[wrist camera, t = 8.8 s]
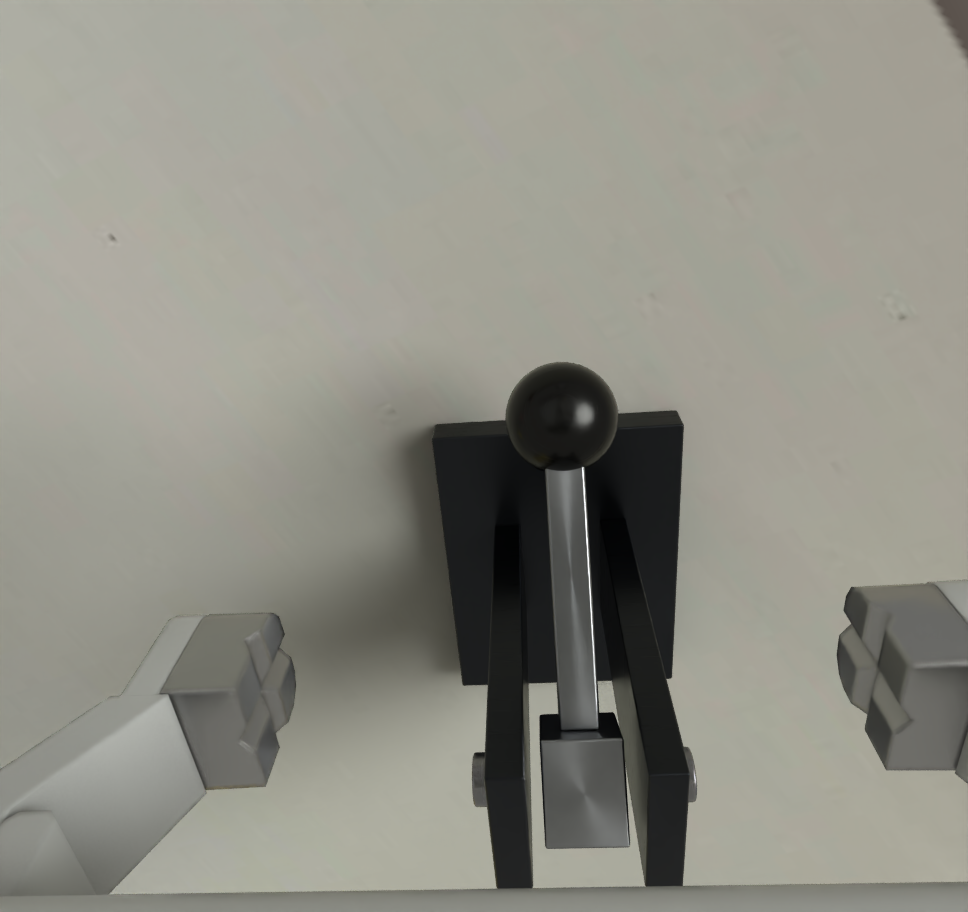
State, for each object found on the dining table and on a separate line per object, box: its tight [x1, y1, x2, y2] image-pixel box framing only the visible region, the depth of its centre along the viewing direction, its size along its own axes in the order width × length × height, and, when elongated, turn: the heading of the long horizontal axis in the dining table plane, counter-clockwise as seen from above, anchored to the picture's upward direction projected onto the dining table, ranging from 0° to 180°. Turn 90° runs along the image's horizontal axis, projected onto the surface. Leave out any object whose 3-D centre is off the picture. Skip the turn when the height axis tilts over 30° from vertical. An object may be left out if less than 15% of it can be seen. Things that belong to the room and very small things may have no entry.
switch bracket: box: [432, 411, 697, 889], centre depth 25 cm, size 12×9×13 cm
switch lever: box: [505, 362, 630, 849], centre depth 21 cm, size 13×3×3 cm, turn 5°
